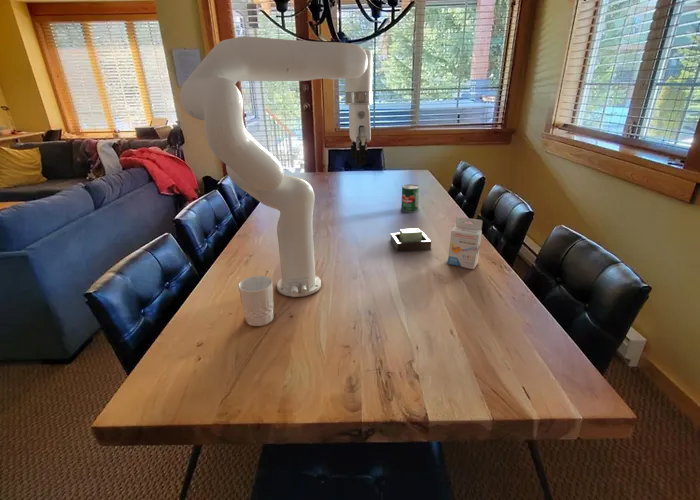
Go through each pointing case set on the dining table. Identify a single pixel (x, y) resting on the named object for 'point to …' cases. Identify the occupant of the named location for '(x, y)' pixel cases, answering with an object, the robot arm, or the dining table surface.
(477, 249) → the ink box
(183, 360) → the dining table surface
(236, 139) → the robot arm
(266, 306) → the white cup
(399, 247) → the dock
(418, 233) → the light green block
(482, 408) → the dining table surface
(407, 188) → the canned tomato
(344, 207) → the dining table surface
